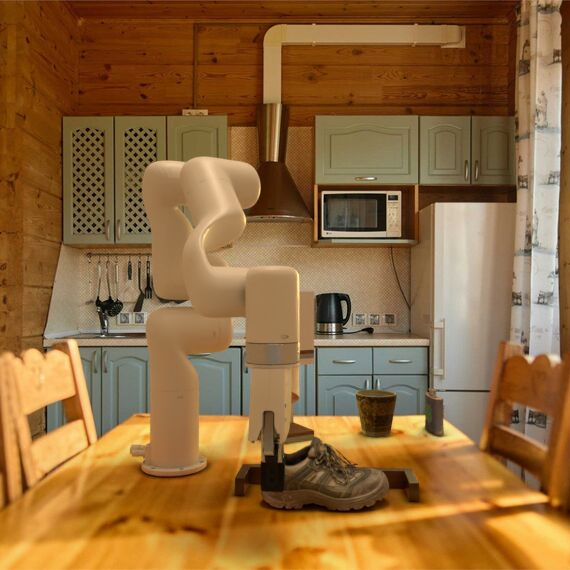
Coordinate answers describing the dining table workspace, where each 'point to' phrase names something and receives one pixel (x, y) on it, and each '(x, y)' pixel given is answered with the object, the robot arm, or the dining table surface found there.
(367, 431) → the ceramic cup
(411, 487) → the bracket
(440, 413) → the flask
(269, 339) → the robot arm
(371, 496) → the hiking shoe
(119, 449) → the dining table surface
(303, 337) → the cream pedestal stand
